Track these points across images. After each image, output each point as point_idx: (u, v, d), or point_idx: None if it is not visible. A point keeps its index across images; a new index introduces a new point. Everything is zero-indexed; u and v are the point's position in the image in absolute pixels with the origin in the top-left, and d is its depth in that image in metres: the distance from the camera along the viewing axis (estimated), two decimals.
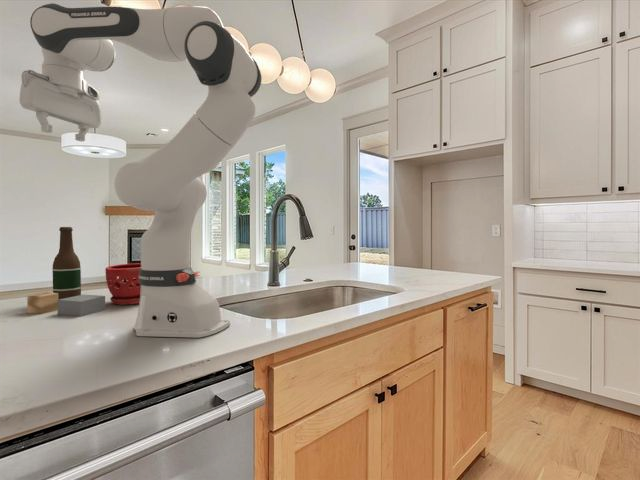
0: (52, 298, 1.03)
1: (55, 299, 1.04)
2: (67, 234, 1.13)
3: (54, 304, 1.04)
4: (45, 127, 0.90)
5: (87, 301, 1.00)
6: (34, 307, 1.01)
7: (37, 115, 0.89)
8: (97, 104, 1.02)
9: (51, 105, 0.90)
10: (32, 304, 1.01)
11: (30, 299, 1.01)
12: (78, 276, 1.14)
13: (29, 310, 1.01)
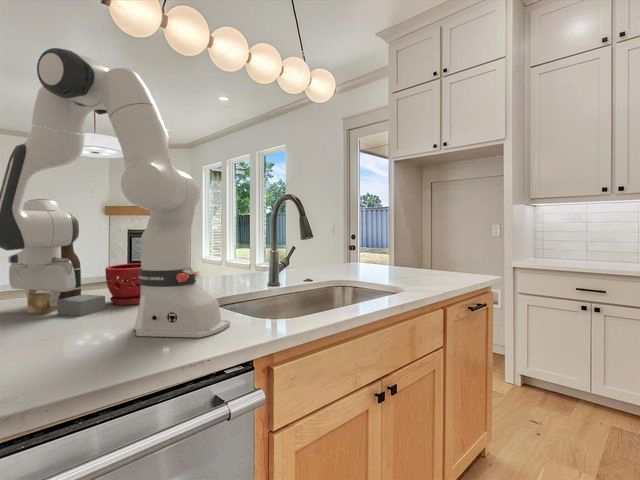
0: None
1: None
2: None
3: None
4: (55, 302, 1.03)
5: (87, 301, 1.00)
6: (34, 307, 1.01)
7: (54, 294, 1.01)
8: None
9: None
10: (32, 304, 1.01)
11: (30, 299, 1.01)
12: (78, 276, 1.14)
13: (29, 310, 1.01)
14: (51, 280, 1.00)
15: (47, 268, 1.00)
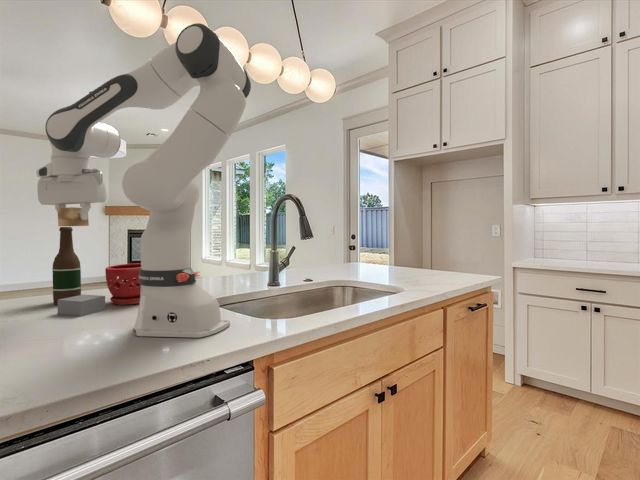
0: None
1: None
2: (67, 234, 1.13)
3: None
4: (86, 216, 1.01)
5: (87, 301, 1.00)
6: (65, 219, 0.99)
7: (85, 206, 0.99)
8: None
9: None
10: (63, 216, 0.99)
11: (60, 211, 0.99)
12: (78, 276, 1.14)
13: (60, 223, 1.00)
14: (82, 191, 0.98)
15: (78, 178, 0.98)
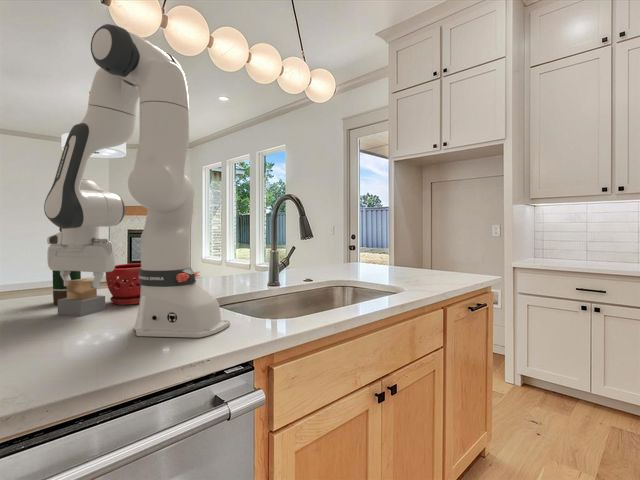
0: None
1: None
2: None
3: (92, 290, 1.03)
4: (99, 284, 1.02)
5: (87, 301, 1.00)
6: (73, 293, 1.00)
7: (98, 275, 1.00)
8: None
9: None
10: (71, 290, 1.00)
11: (69, 285, 1.00)
12: (78, 276, 1.14)
13: (68, 296, 1.01)
14: (91, 261, 0.99)
15: (87, 248, 0.99)
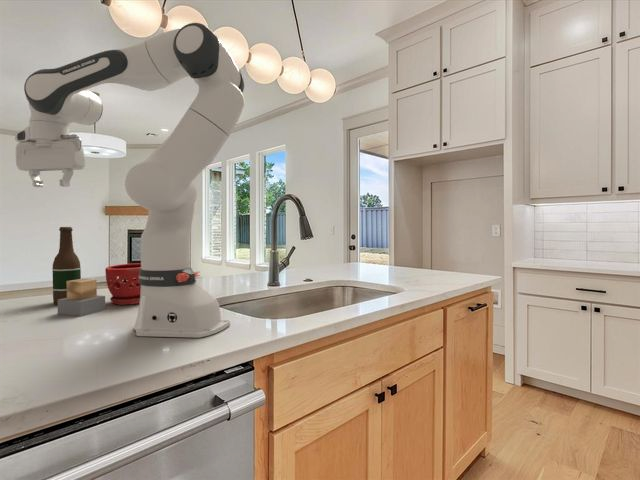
0: (91, 284, 1.03)
1: (93, 285, 1.03)
2: (67, 234, 1.13)
3: (92, 290, 1.03)
4: (68, 183, 0.99)
5: (87, 301, 1.00)
6: (73, 293, 1.00)
7: (67, 172, 0.97)
8: None
9: None
10: (71, 290, 1.00)
11: (69, 285, 1.00)
12: (78, 276, 1.14)
13: (68, 296, 1.01)
14: (59, 156, 0.96)
15: (56, 143, 0.96)
